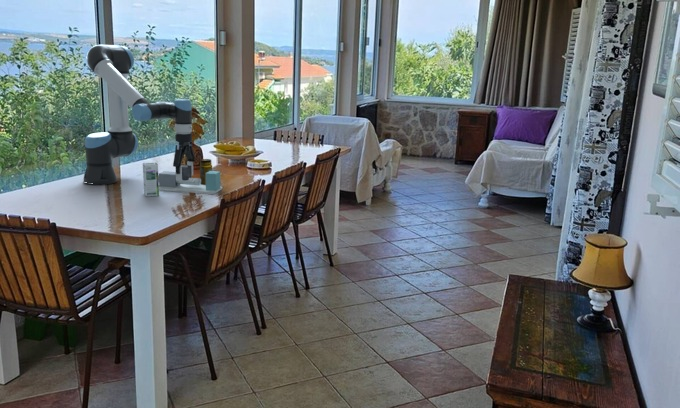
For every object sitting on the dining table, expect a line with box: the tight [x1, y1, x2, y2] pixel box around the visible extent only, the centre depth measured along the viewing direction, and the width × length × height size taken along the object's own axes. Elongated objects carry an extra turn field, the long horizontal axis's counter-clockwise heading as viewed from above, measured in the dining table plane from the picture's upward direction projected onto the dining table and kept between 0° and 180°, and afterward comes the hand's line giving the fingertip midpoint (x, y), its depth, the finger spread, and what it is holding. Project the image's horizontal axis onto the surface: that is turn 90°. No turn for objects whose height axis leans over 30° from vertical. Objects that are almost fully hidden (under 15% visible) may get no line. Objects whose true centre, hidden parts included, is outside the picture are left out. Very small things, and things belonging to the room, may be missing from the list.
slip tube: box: [158, 164, 201, 186], centre depth 281 cm, size 22×4×9 cm, turn 82°
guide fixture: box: [158, 170, 223, 195], centre depth 281 cm, size 28×12×9 cm, turn 82°
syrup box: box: [142, 162, 160, 197], centre depth 266 cm, size 6×6×14 cm
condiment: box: [199, 158, 213, 185], centre depth 294 cm, size 7×8×12 cm
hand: (184, 177), depth 281 cm, fingers open, 13 cm apart
